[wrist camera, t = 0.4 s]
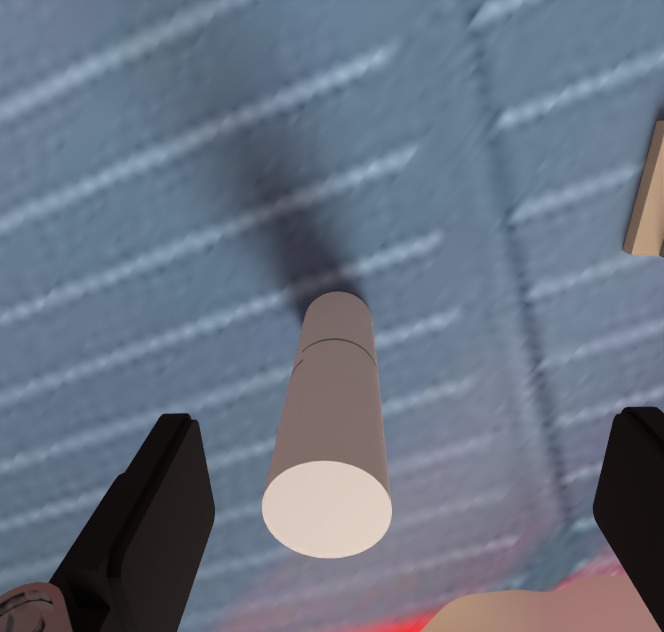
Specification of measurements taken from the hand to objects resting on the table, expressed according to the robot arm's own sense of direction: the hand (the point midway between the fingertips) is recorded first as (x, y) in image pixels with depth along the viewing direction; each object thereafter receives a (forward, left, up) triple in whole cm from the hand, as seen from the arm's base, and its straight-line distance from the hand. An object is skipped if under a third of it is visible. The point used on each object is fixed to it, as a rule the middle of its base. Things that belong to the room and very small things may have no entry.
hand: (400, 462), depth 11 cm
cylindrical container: (+13, -2, -36) cm, 38 cm away
